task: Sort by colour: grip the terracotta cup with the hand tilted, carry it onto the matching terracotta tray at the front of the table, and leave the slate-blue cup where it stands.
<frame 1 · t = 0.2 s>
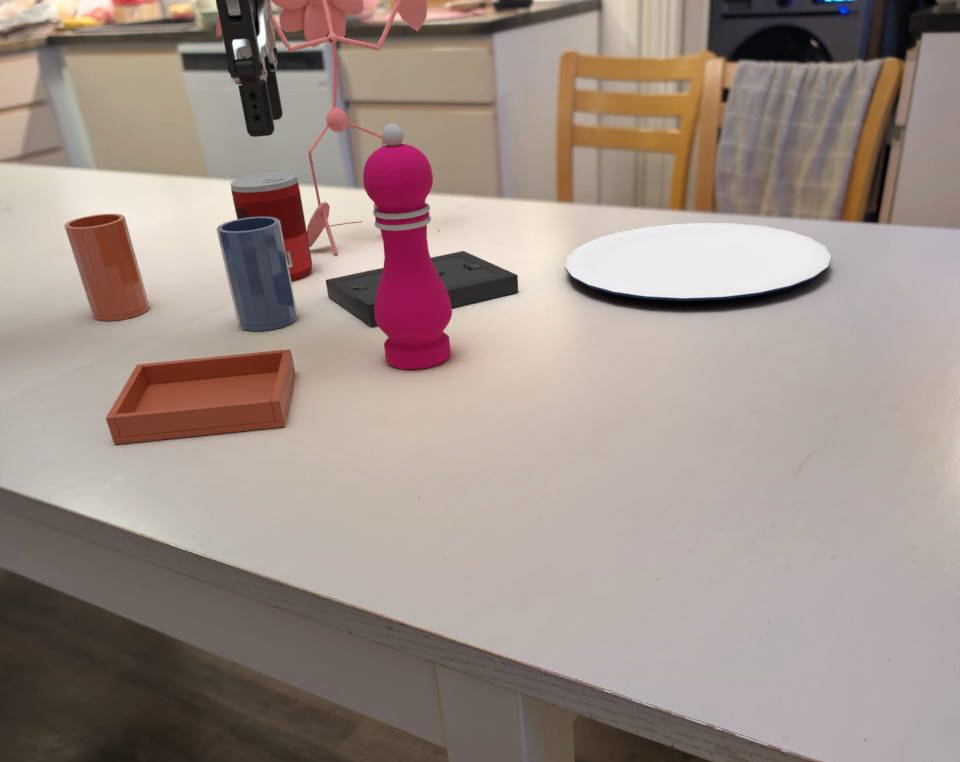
hand: (266, 127, 81), 20 cm above the table, tool pointing down, fingers open, 8 cm apart
figurine: (349, 240, 129), on the table
tray: (210, 407, 84), on the table
canned food: (282, 276, 117), on the table
terracotta cup: (121, 312, 109), on the table
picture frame: (421, 296, 106), on the table
plate: (693, 272, 106), on the table
blue cup: (268, 321, 102), on the table
pepper mill: (418, 360, 90), on the table
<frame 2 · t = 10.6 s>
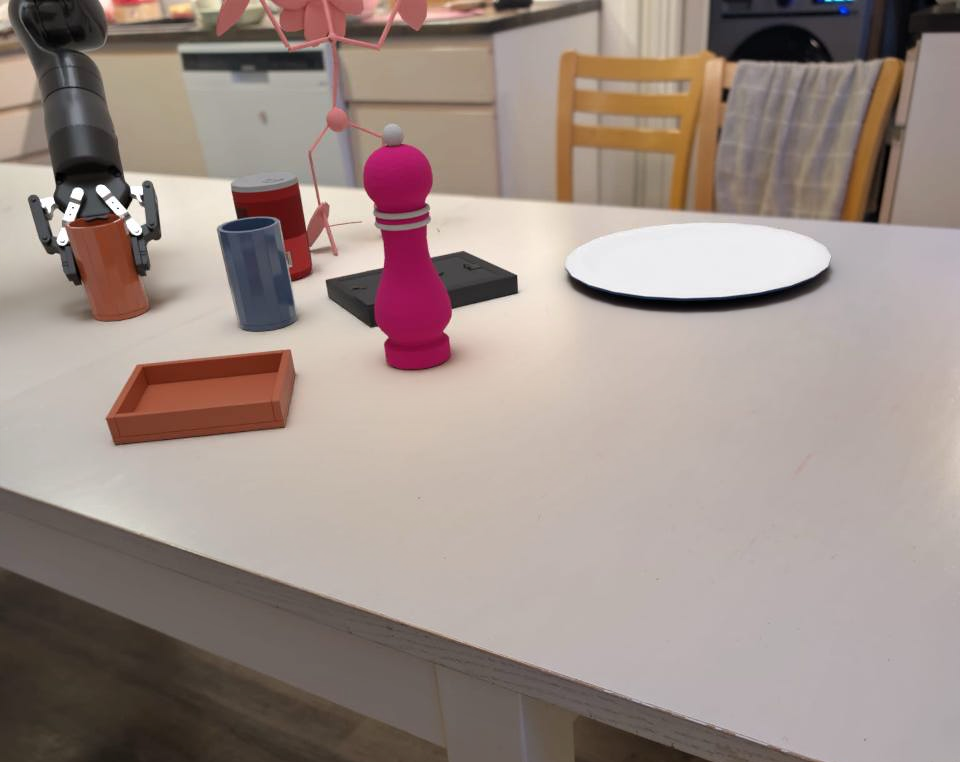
hand: (109, 276, 105), 4 cm above the table, tool tilted 45°, fingers closed on terracotta cup, 6 cm apart
terracotta cup: (121, 312, 109), on the table, touching gripper
everything else where it was.
when the fingers open (5 cm above the table, at t = 22.2 s): terracotta cup stays where it is, resting on tray.
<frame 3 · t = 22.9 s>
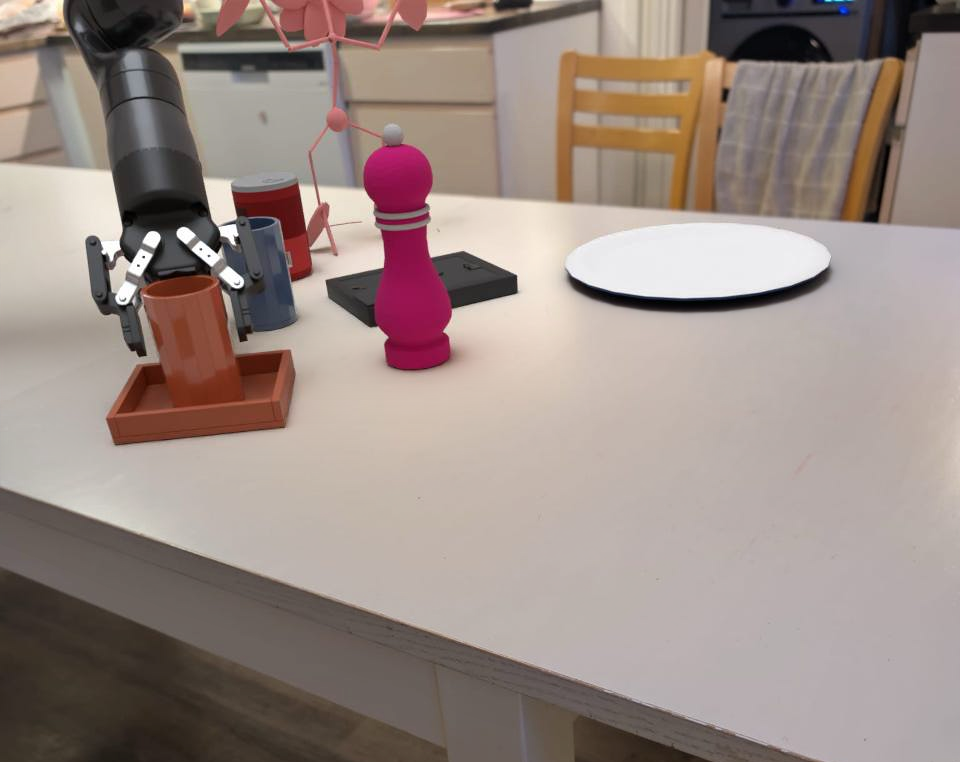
hand: (192, 345, 79), 6 cm above the table, tool tilted 45°, fingers open, 8 cm apart
terracotta cup: (209, 400, 84), point 1 cm above the table, touching tray
everything else where it was.
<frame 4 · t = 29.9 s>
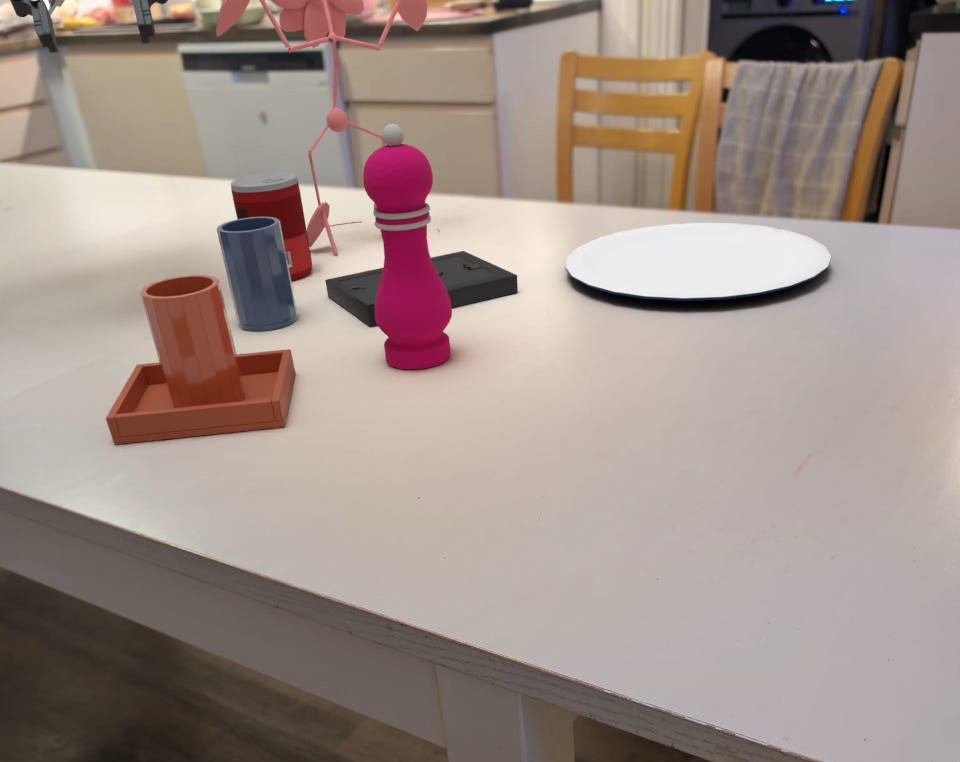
hand: (98, 41, 88), 27 cm above the table, tool tilted 45°, fingers open, 8 cm apart
nothing on the table moved.
at the end: terracotta cup inside the target area in the tray (0.0 cm from its centre), point 0.6 cm above the tray's base; terracotta cup tilted 0°; blue cup moved 0.0 cm from its start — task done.
